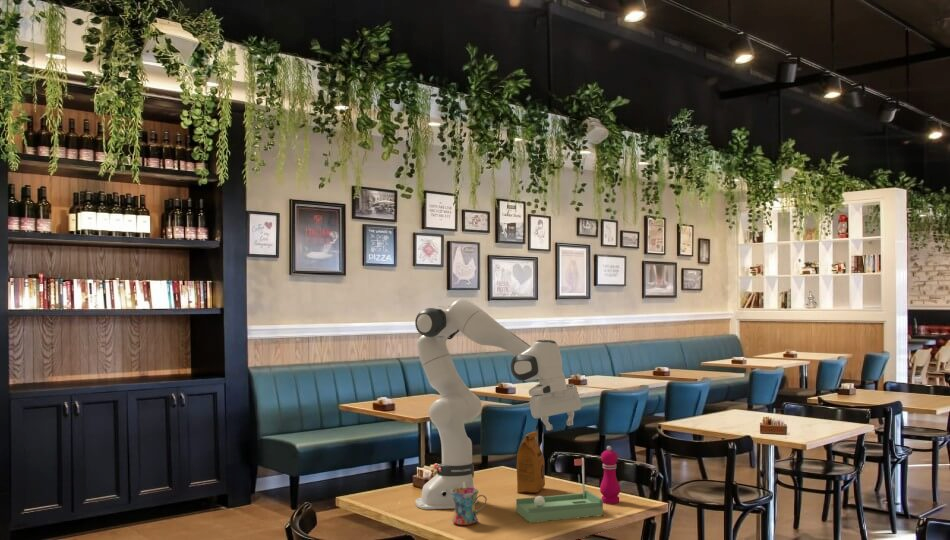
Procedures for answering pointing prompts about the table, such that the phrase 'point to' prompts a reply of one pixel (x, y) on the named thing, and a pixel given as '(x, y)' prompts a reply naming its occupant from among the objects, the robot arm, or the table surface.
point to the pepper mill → (609, 477)
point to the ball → (539, 501)
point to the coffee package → (530, 466)
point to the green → (562, 505)
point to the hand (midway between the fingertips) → (560, 427)
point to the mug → (465, 505)
